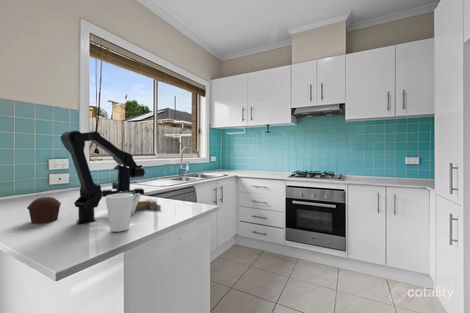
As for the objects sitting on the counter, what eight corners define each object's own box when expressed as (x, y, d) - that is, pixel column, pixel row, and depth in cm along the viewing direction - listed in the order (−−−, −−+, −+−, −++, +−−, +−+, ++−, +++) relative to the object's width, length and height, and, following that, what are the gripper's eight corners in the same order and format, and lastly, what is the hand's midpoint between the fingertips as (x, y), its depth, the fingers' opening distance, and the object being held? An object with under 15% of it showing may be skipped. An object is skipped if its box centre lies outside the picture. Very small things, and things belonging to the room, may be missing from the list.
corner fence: (160, 210, 115) (160, 205, 115) (138, 213, 109) (138, 207, 109) (152, 205, 128) (152, 200, 128) (132, 207, 122) (132, 202, 122)
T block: (156, 210, 117) (156, 201, 117) (138, 212, 112) (138, 203, 112) (151, 206, 124) (151, 198, 124) (134, 209, 119) (134, 200, 119)
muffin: (65, 219, 99) (65, 197, 99) (33, 226, 89) (33, 201, 89) (54, 215, 105) (54, 194, 105) (22, 221, 95) (22, 198, 95)
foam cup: (100, 230, 84) (100, 196, 84) (122, 223, 93) (122, 192, 93) (116, 234, 80) (116, 198, 80) (138, 227, 88) (138, 194, 88)
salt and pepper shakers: (121, 206, 117) (132, 187, 120) (129, 209, 119) (139, 190, 123) (125, 210, 108) (137, 189, 111) (133, 213, 110) (144, 192, 113)
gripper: (139, 176, 124) (138, 204, 124) (101, 177, 114) (99, 208, 113) (144, 178, 115) (143, 208, 115) (103, 179, 104) (101, 212, 104)
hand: (122, 209), depth 112 cm, fingers closed, pressing on salt and pepper shakers
